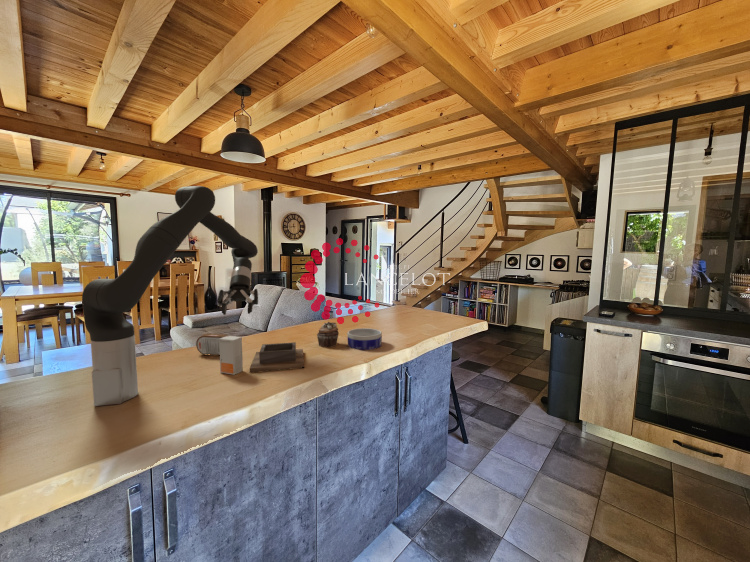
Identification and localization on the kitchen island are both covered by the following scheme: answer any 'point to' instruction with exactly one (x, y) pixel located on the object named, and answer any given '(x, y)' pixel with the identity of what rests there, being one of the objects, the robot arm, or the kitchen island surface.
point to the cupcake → (328, 335)
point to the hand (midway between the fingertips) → (236, 313)
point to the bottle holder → (277, 357)
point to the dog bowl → (364, 338)
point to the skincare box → (230, 355)
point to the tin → (209, 343)
